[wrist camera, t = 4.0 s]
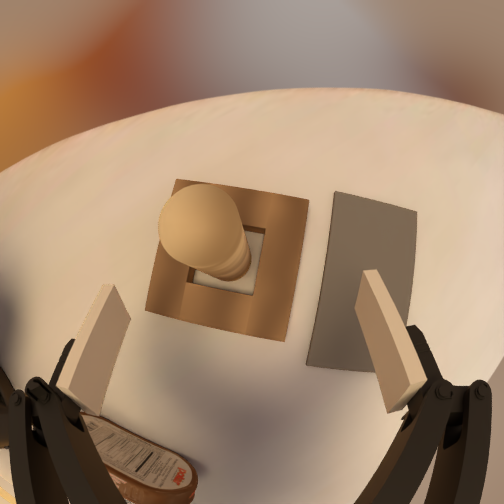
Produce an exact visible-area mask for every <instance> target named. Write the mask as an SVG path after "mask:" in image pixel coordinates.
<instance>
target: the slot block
mask: <svg viewBox="0 0 504 504" xmlns="http://www.w3.org/2000/svg"><path fill="white" fill-rule="evenodd" d="M196 184H208V185H213V186H216V187H218V188H220V189H222V190H223V191H225V192H226V193H227V194H228V195H229V196H230V197H231V198H232V199H233V201H234V202H235V204H236V206H237V209H238V212H239V215H240V219H241V222H242V226H243V229H244V230H246V231H252V232H257V233H263V234H265V236H264V241H263V246H262V251H261V257H260V262H259V267H258V272H257V277H256V282H255V288H254V293H253V296H251V295H245V294H240V293H235V292H230V291H226V290H221V289H216V288H211V287H206V286H202V285H197V284H193V283H192V282H193V277H194V273H195V268H192V267H190V266H188V265H186V264H184V263H181V262H179V261H177V260H176V259H174V258H173V257H171V256H170V255H169V254H168V253H167V252H166V250H165V249H164V247H163V245H162V243H161V241H159V245H158V249H157V253H156V258H155V262H154V267H153V271H152V276H151V281H150V286H149V291H148V296H147V301H146V307H145V311H149V312H152V313H156V314H160V315H163V316H167V317H171V318H175V319H178V320H182V321H186V322H190V323H194V324H199V325H203V326H207V327H211V328H216V329H220V330H225V331H230V332H234V333H239V334H244V335H249V336H254V337H259V338H265V339H270V340H276V341H282V342H285V337H286V332H287V327H288V322H289V317H290V312H291V307H292V302H293V296H294V291H295V286H296V280H297V274H298V269H299V263H300V257H301V251H302V245H303V239H304V232H305V226H306V219H307V212H308V206H309V200H307V199H302V198H297V197H292V196H286V195H281V194H275V193H270V192H264V191H258V190H252V189H246V188H239V187H233V186H226V185H219V184H212V183H205V182H197V181H189V180H181V179H176V182H175V185H174V188H173V192H172V195H171V197H172V196H173V195H174V194H175V193H176V192H178V191H179V190H181V189H183V188H185V187H188V186H191V185H196Z"/></svg>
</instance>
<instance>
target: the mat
mask: <svg viewBox="0 0 504 504" xmlns="http://www.w3.org/2000/svg"><path fill="white" fill-rule="evenodd" d="M416 234H417V212H416V211H413V210H409V209H406V208H402V207H398V206H395V205H391V204H387V203H383V202H379V201H375V200H371V199H367V198H363V197H359V196H355V195H351V194H346V193H342V192H337V191H335V193H334V199H333V208H332V217H331V225H330V233H329V240H328V247H327V254H326V261H325V267H324V274H323V280H322V286H321V291H320V297H319V303H318V308H317V313H316V318H315V324H314V329H313V333H312V338H311V343H310V348H309V352H308V357H307V361H306V365H307V366H314V367H322V368H330V369H339V370H350V371H361V372H375V368H374V365H373V362H372V359H371V356H370V352H369V349H368V346H367V343H366V340H365V337H364V334H363V331H362V328H361V325H360V323H359V320H358V317H357V314H356V311H355V304H356V300H357V296H358V292H359V287H360V283H361V278H362V274H363V271H364V270H375V269H377V271H378V273H379V275H380V277H381V279H382V281H383V283H384V284H385V286H386V288H387V290H388V292H389V294H390V296H391V298H392V300H393V302H394V304H395V306H396V309H397V311H398V313H399V315H400V317H401V319H402V321H403V323H404V326H405V327H406V325H407V319H408V313H409V306H410V299H411V292H412V284H413V275H414V264H415V252H416ZM375 373H376V372H375Z"/></svg>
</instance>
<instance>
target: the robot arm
mask: <svg viewBox="0 0 504 504" xmlns="http://www.w3.org/2000/svg"><path fill="white" fill-rule="evenodd" d="M355 311H356V314H357V317H358V320H359V323H360V325H361V328H362V331H363V334H364V337H365V340H366V343H367V346H368V349H369V352H370V356H371V359H372V362H373V365H374V368H375V372H376V375H377V378H378V382H379V385H380V389H381V392H382V396H383V400H384V403H385V407H386V411H387V414H388V413H392V412H395V411H399V410H402V409H403V408H404V407H405V406H406V405H407V406H408V409H409V411H408V412H407V413H406V414H405V415H404V416H403V417H402V418H401V420H403V419H404V421H403V423H402V425H401V427H400V429H399V431H398V433H397V435H396V437H395V439H394V440H393V442H392V444H391V446H390V448H389V450H388V451H387V453H386V455H385V457H384V459H383V460H382V462H381V464H380V465H379V467H378V469H377V470H376V472H375V473H374V475H373V477H372V478H371V480H370V481H369V483H368V484H367V486H366V487H365V489H364V490H363V492H362V493H361V494H360V496H359V497H358V499H357V500H356V501H355V503H354V504H409V503H410V502H411V500H412V498H413V496H414V495H415V493H416V491H417V489H418V487H419V485H420V484H421V482H422V480H423V478H424V475H425V474H426V472H427V470H428V467H429V465H430V463H431V461H432V459H433V456H434V454H435V452H436V450H437V447H438V450H437V456H436V460H435V465H434V469H433V474H432V477H431V481H430V485H429V489H428V492H427V496H426V499H425V502H424V504H480V500H481V496H482V491H483V487H484V482H485V476H486V470H487V464H488V456H489V447H490V435H491V417H492V415H491V414H492V393H491V388H490V386H489V385H488V383H486V382H485V381H483V380H476V381H475V382H473V383H472V384H471V385H470V386H453V385H452V384H451V383H450V382H449V381H447V380H444V379H443V377H442V375H441V373H440V371H439V368H438V366H437V364H436V361H435V359H434V357H433V354H432V352H431V351H430V348H429V346H428V343H426V342H427V341H426V339H425V337H424V335H423V333H422V332H421V331H420V330H419V329H418V328H417V327H416V326H415V325H412V326H407V327H405V326H404V323H403V321H402V319H401V317H400V315H399V313H398V311H397V309H396V306H395V304H394V302H393V300H392V298H391V296H390V294H389V292H388V290H387V288H386V286H385V284H384V283H383V281H382V279H381V277H380V275H379V273H378V271H377V269H375V270H364V271H363V274H362V278H361V283H360V287H359V292H358V296H357V300H356V304H355ZM130 320H131V318H130V316H129V314H128V312H127V310H126V308H125V306H124V304H123V302H122V300H121V298H120V296H119V294H118V291H117V289H116V287H115V285H114V284H112V285H103V286H102V288H101V290H100V291H99V293H98V295H97V297H96V299H95V301H94V303H93V305H92V307H91V309H90V310H89V312H88V314H87V316H86V318H85V320H84V322H83V325H82V327H81V329H80V331H79V333H78V335H77V337H76V339H71V340H70V341H69V342H68V343H67V345H66V346H65V348H64V350H63V352H62V356H61V357H60V359H59V362H58V363H57V366H56V368H55V370H54V373H53V375H52V378H51V380H50V383H49V385H48V384H47V383H46V382H45V381H44V380H43V379H42V378H40V377H33V378H32V379H30V380H29V381H28V383H27V384H26V387H25V393H24V392H23V391H22V390H15V391H14V390H13V388H12V386H11V384H10V382H9V380H8V378H7V377H6V375H5V373H4V372H3V370H2V369H1V367H0V449H2V448H5V449H9V453H10V464H11V473H12V481H13V487H14V492H15V498H16V503H17V504H69V502H68V499H69V501H70V503H71V504H127V503H126V501H125V500H124V498H123V496H122V495H121V493H120V492H119V490H118V488H117V486H116V485H115V483H114V481H113V480H112V478H111V476H110V474H109V472H108V471H107V469H106V467H105V465H104V463H103V461H102V459H101V457H100V455H99V453H98V451H97V449H96V447H95V445H94V442H93V440H92V438H91V436H90V433H89V431H88V429H87V426H86V424H85V421H84V419H83V417H82V415H81V414H80V410H81V409H82V410H83V411H85V412H86V413H87V414H91V415H95V416H99V415H100V412H101V408H102V404H103V401H104V397H105V394H106V391H107V387H108V384H109V381H110V378H111V375H112V371H113V368H114V365H115V362H116V359H117V356H118V353H119V351H120V348H121V345H122V342H123V339H124V336H125V334H126V331H127V328H128V325H129V323H130ZM32 425H33V427H34V428H33V430H32ZM67 497H68V498H67Z"/></svg>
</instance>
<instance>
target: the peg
mask: <svg viewBox="0 0 504 504" xmlns="http://www.w3.org/2000/svg"><path fill="white" fill-rule="evenodd" d="M158 233H159V238H160V241H161V243H162V245H163V247H164V249H165V250H166V252H167V253H168V254H169V255H170V256H171V257H173V258H174V259H176V260H177V261H179V262H181V263H184V264H186V265H188V266H190V267H192V268H195V269H197V270H199V271H201V272H204V273H206V274H208V275H211V276H213V277H215V278H217V279H220V280H222V281H235V280H238V279H240V278H241V277H243V276H244V275H245V274H246V273H247V271H248V270H249V268H250V265H251V253H250V249H249V246H248V243H247V239H246V236H245V232H244V229H243V226H242V222H241V219H240V215H239V212H238V209H237V206H236V204H235V202H234V201H233V199H232V198H231V197H230V196H229V195H228V194H227V193H226V192H225V191H223V190H222V189H220V188H218V187H216V186H213V185H208V184H196V185H191V186H188V187H185V188H183V189H181V190H179V191H178V192H176V193H175V194H174V195H173V196H172V197H171V198H170V199H169V200H168V201H167V202H166V204H165V205H164V207H163V209H162V211H161V214H160V217H159V222H158Z"/></svg>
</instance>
